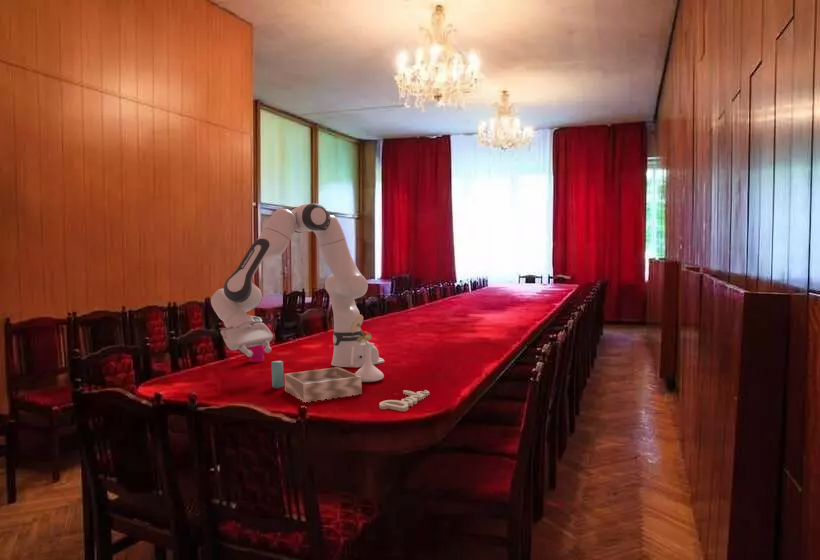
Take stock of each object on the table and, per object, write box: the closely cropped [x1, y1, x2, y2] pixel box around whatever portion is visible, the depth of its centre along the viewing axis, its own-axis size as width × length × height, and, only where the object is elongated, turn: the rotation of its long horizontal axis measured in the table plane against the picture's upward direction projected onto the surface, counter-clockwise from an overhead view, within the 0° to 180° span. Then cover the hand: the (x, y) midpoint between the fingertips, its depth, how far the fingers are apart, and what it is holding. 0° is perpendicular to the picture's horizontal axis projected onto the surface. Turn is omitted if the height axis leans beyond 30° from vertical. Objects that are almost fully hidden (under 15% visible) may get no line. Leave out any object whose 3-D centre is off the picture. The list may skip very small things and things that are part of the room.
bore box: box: [284, 366, 363, 404], centre depth 209 cm, size 20×20×6 cm
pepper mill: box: [248, 315, 266, 363], centre depth 272 cm, size 7×7×20 cm
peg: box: [270, 360, 285, 389], centre depth 219 cm, size 4×4×9 cm
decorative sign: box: [378, 389, 430, 412], centre depth 195 cm, size 23×2×10 cm
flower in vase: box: [349, 314, 385, 383], centre depth 224 cm, size 13×11×25 cm
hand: (260, 353), depth 223 cm, fingers open, 8 cm apart
